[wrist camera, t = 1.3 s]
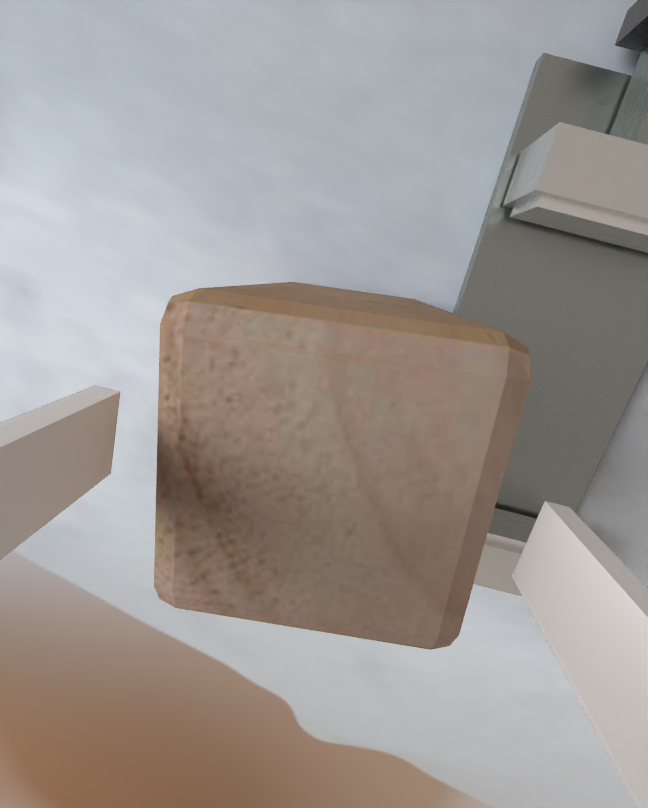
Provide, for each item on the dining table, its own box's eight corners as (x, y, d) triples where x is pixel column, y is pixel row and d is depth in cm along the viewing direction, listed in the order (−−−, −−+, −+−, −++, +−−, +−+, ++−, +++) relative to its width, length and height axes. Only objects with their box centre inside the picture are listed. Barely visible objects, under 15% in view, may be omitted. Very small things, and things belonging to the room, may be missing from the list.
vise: (536, 61, 25) (590, -3, 19) (751, 117, 25) (869, 70, 19) (386, 515, 34) (393, 563, 28) (545, 555, 34) (584, 612, 28)
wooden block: (425, 300, 29) (560, 343, 10) (398, 436, 32) (463, 670, 13) (280, 280, 30) (144, 283, 10) (266, 416, 32) (140, 617, 13)
